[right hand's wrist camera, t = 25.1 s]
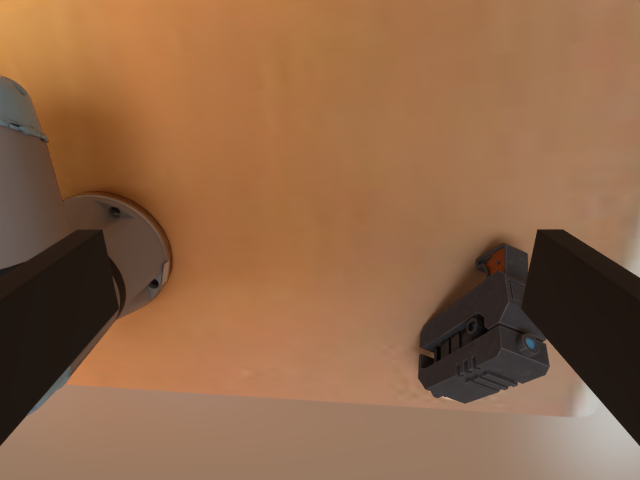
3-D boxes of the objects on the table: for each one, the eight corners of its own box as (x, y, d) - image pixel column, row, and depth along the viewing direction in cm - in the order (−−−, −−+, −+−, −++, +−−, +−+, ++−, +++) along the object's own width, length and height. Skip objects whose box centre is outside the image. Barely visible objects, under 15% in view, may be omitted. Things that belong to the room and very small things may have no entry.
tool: (544, 246, 46) (569, 373, 36) (446, 316, 60) (445, 419, 51) (498, 226, 45) (511, 350, 36) (409, 301, 60) (402, 404, 50)
